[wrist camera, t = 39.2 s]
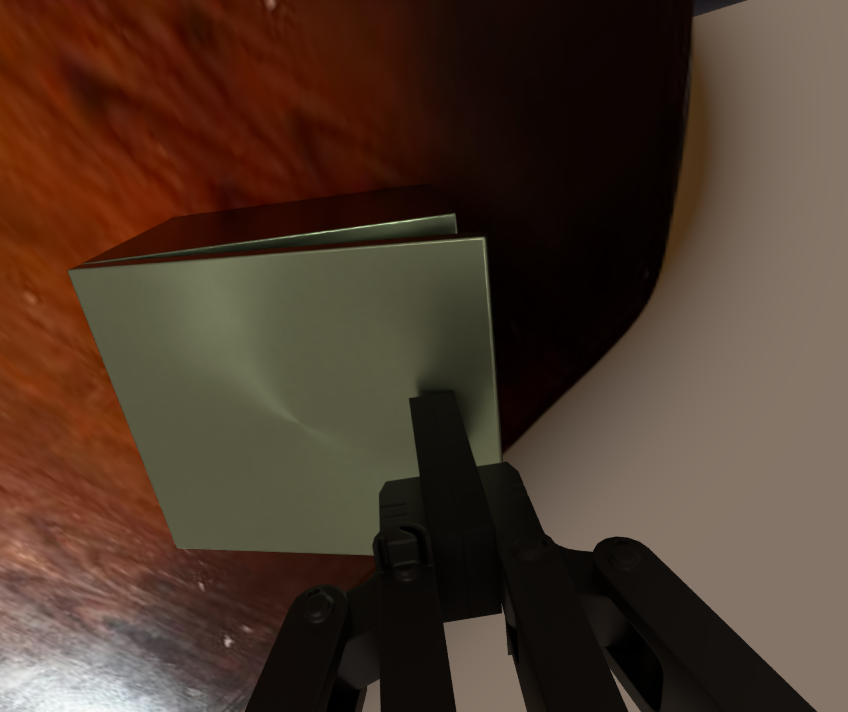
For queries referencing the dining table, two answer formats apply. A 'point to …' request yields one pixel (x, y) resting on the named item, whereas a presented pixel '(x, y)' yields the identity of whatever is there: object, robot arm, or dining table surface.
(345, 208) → the grey green storage bin
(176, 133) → the dining table surface
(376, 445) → the bin lid
